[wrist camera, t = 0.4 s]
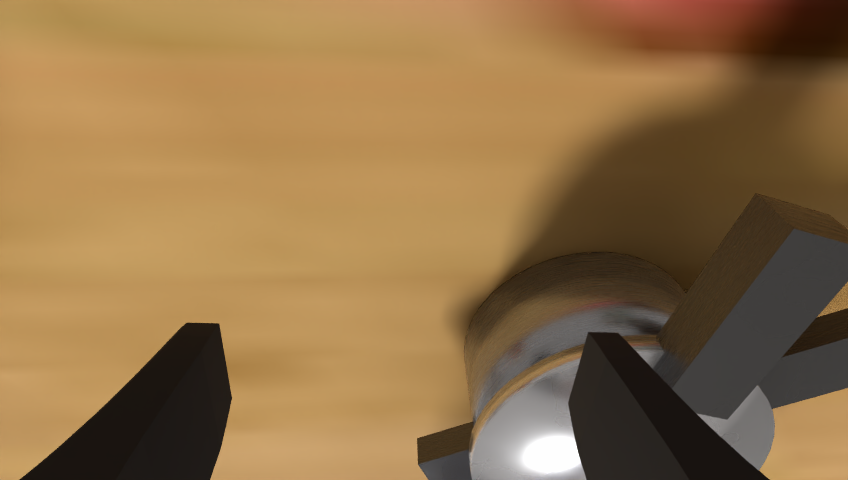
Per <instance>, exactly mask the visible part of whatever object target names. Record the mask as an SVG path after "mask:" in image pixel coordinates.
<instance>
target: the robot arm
mask: <svg viewBox="0 0 848 480" xmlns="http://www.w3.org/2000/svg"><path fill="white" fill-rule="evenodd" d="M231 400H232V396H231V390H230V384H229V378H228V373H227V367H226V361H225V355H224V349H223V343H222V338H221V332H220V326H219V324H218V323H186V324H185V325H184V326H182V327H181V328H180V329H179V330H178V331H177V332H176V333H175V334H174V336H173V337H172V338H171V339H170V340H169V341H168V342H167V343H166V344H165V345H164V346H163V347H162V348H161V349H160V350H159V351H158V352H157V353H156V354H155V355H154V356H153V357H152V359H151V360H150V361H149V362H148V363H147V364H146V365H145V366H144V367H143V368H142V369H141V370H140V371H139V372H138V373H137V374H136V375H135V376H134V377H133V378H132V379H131V380H130V381H129V382H128V383H127V384H126V385H125V386H124V387H123V388H122V389H121V390H120V391H119V392H118V393H117V394H116V395H115V396H114V397H113V398H112V399H111V400H110V401H109V402H108V403H106V404H105V405H104V406H103V407H102V408H101V409H100V410H99V411H98V412H97V413H96V414H95V415H94V416H93V417H92V418H91V419H89V420H88V421H87V422H86V423H85V424H84V425H83V426H82V427H81V428H79V429H78V430H77V431H76V432H75V433H74V434H73V435H72V436H71V437H69V438H68V439H67V440H66V441H65V442H64V443H63V444H62V445H61V446H59V447H58V448H57V449H56V450H55V451H54V452H53V453H51V454H50V455H49V456H48V457H47V458H45V459H44V460H43V461H42V462H41V463H39V464H38V465H37V466H36V467H35V468H33V469H32V470H31V471H30V472H28V473H27V474H26V475H25V476H24V477H22V478H21V479H20V480H210V478H211V475H212V472H213V469H214V466H215V464H216V461H217V458H218V455H219V452H220V449H221V445H222V441H223V436H224V432H225V428H226V423H227V419H228V414H229V409H230V404H231ZM568 406H569V411H570V417H571V422H572V427H573V432H574V437H575V442H576V447H577V451H578V455H579V458H580V461H581V464H582V467H583V470H584V473H585V476H586V479H587V480H769V479H768V478H767V477H766V476H764V475H763V474H762V473H761V472H760V471H759V470H757V469H756V468H755V467H754V466H753V465H752V464H750V463H749V462H748V461H747V460H746V459H745V458H744V457H742V456H741V455H740V454H739V453H738V452H737V451H736V450H735V449H734V448H733V447H731V446H730V445H729V444H728V443H727V442H726V441H725V440H724V439H723V438H722V437H720V436H719V435H718V434H717V433H716V432H715V431H714V430H713V429H712V428H711V427H710V426H709V425H708V424H707V423H706V422H705V421H704V420H702V419H701V418H700V417H699V416H698V415H697V414H696V413H695V412H694V411H693V410H692V409H691V408H690V407H689V406H688V405H687V404H686V403H685V402H684V401H683V400H682V399H681V398H680V397H679V396H678V395H677V394H676V393H675V392H674V391H673V390H672V388H671V387H670V386H669V385H668V384H667V383H666V382H665V381H664V380H663V379H662V378H661V377H660V376H659V375H658V374H657V373H656V372H655V371H654V370H653V369H652V368H651V367H650V365H649V364H648V363H647V362H646V361H645V360H644V359H643V358H642V357H641V356H640V355H639V354H638V353H637V352H636V351H635V350H634V348H633V347H632V346H631V345H630V344H629V343H628V342H627V341H626V340H625V339H624V338H623V337H622V336H621V335H620V334H619V333H611V332H588V334H587V338H586V341H585V345H584V348H583V352H582V355H581V359H580V362H579V366H578V370H577V373H576V377H575V380H574V384H573V387H572V391H571V394H570V398H569V401H568Z"/></svg>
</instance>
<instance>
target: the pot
mask: <svg viewBox="0 0 848 480" xmlns="http://www.w3.org/2000/svg"><path fill="white" fill-rule="evenodd" d="M685 295H686V293H685V292H684V290H683V289H682V288H681V286H680V285H679V284H678V283H677V281H676V280H675V279H674V278H673V277H671V276H670V275H669V274H668V273H667V272H666V271H664V270H662V269H661V268H659V267H657V266H656V265H654V264H652V263H649V262H647V261H645V260H642V259H639V258H636V257H632V256H629V255H623V254H617V253H604V252H591V253H578V254H573V255H568V256H562V257H559V258H555V259H552V260H548V261H545V262H543V263H540V264H538V265H535V266H533V267H530V268H529V269H527V270H525V271H523V272H521V273H519V274H517V275H516V276H514V277H513V278H511V279H510V280H508V281H507V282H505V283H504V284H503V285H501V286H500V287H499V288H498V289H497V290H496V291H495V292H493V293H492V294H491V295H490V296H489V298H488V299H487V300H486V301H485V302H484V303H483V304H482V306H481V307H480V308H479V310H478V311H477V313H476V314H475V316H474V318H473V320H472V322H471V324H470V326H469V329H468V332H467V335H466V339H465V346H464V359H465V367H466V375H467V383H468V391H469V398H470V406H471V414H472V421H473V422H470V423H467V424H463V425H460V426H457V427H453V428H450V429H447V430H443V431H440V432H437V433H434V434H430V435H427V436H424V437H420V438H417V447H418V465H419V466H420V468H421V469H422V471H423V472H424V474H425V475H426V477H427V478H428V480H472V477H471V470H470V461H469V442H470V438H471V434H472V430H473V428H474V425H475V423H476V421H477V418H478V417H479V415H480V414H481V412H482V410H483V409H484V407H485V406H486V404H487V403H488V402H489V401H490V400H491V399H492V397H493V396H494V395H495V394H496V393H497V392H498V391H499V390H500V389H501V388H502V387H503V386H504V385H506V384H507V383H508V382H509V381H510V380H511V379H513V378H514V377H516V376H517V375H518V374H520V373H521V372H523V371H524V370H525V369H527V368H529V367H531V366H532V365H534V364H536V363H538V362H540V361H541V360H543V359H545V358H547V357H550V356H552V355H554V354H557V353H559V352H561V351H563V350H566V349H569V348H572V347H575V346H578V345H581V344H585V341H586V338H587V334H588V332H611V333H619V334H620V335H621V336H628V335H658V333H659V332H660V330H661V329H662V328H663V326H664V325H665V323H666V322H667V320H668V319H669V318H670V316H671V315H672V313H673V312H674V310H675V309H676V307H677V306H678V305H679V303H680V302H681V300H682V299H683V297H684V296H685ZM758 386H759V388H760V389H761V390H762V392H763V393H764V395H765V396H766V398H767V399H768V401H769V404H770V406H771V409H773V408H777V407H781V406H784V405H788V404H791V403H795V402H799V401H802V400H806V399H809V398H813V397H817V396H820V395H824V394H827V393H831V392H834V391H838V390H842V389H845V388H848V308H847V309H844V310H840V311H837V312H834V313H830V314H827V315H824V316H820V317H817V318H815V320H814V321H813V322H812V323H811V324H810V325H809V326H808V328H807V329H806V330H805V331H804V332H803V333H802V335H801V336H800V337H799V338H798V339H797V340H796V341H795V343H794V344H793V345H792V346H791V347H790V348H789V349H788V351H787V352H786V353H785V354H784V355H783V356H782V357H781V359H780V360H779V361H778V362H777V363H776V364H775V366H774V367H773V368H772V369H771V370H770V371H769V372H768V374H767V375H766V376H765V377H764V378H763V379H762V380H761V382H760V383H759V384H758Z"/></svg>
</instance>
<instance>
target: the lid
mask: <svg viewBox="0 0 848 480" xmlns="http://www.w3.org/2000/svg"><path fill="white" fill-rule="evenodd" d="M847 282H848V230H847V229H846V228H845V227H844V226H842V225H841V224H840V223H839V222H837V221H836V220H835V219H834V218H833V217H831V216H830V215H828V214H825V213H821V212H818V211H814V210H811V209H808V208H804V207H801V206H797V205H794V204H790V203H787V202H784V201H780V200H777V199H773V198H770V197H767V196H763V195H760V194H755V195H754V197H753V198H752V200H751V201H750V202H749V204H748V205H747V207H746V208H745V210H744V211H743V213H742V214H741V215H740V217H739V218H738V220H737V221H736V223H735V224H734V225H733V227H732V228H731V230H730V231H729V233H728V234H727V236H726V237H725V238H724V240H723V241H722V243H721V244H720V246H719V247H718V248H717V250H716V251H715V253H714V254H713V256H712V257H711V259H710V260H709V261H708V263H707V264H706V266H705V267H704V269H703V270H702V272H701V273H700V274H699V276H698V277H697V279H696V280H695V282H694V283H693V284H692V286H691V287H690V289H689V290H688V292H687V293H686V295H685V296H684V297H683V299H682V300H681V302H680V303H679V305H678V306H677V307H676V309H675V310H674V312H673V313H672V315H671V316H670V318H669V319H668V320H667V322H666V323H665V325H664V326H663V328H662V329H661V330H660V332H659V333H658V335H628V336H622V337H623V338H624V339H625V340H626V341H627V342H628V343H629V344H630V345H631V346H632V347H633V348H634V350H635V351H636V352H637V353H638V354H639V355H640V356H641V357H642V358H643V359H644V360H645V361H646V362H647V363H648V364H649V365H650V367H651V368H652V369H653V370H654V371H655V372H656V373H657V374H658V375H659V376H660V377H661V378H662V379H663V380H664V381H665V382H666V383H667V384H668V385H669V386H670V387H671V388H672V390H673V391H674V392H675V393H676V394H677V395H678V396H679V397H680V398H681V399H682V400H683V401H684V402H685V403H686V404H687V405H688V406H689V407H690V408H691V409H692V410H693V411H694V412H695V413H696V414H697V415H698V416H699V417H700V418H701V419H702V420H704V421H705V422H706V423H707V424H708V425H709V426H710V427H711V428H712V429H713V430H714V431H715V432H716V433H717V434H718V435H719V436H720V437H722V438H723V439H724V440H725V441H726V442H727V443H728V444H729V445H730V446H731V447H733V448H734V449H735V450H736V451H737V452H738V453H739V454H740V455H741V456H742V457H744V458H745V459H746V460H747V461H748V462H749V463H750V464H752V465H753V466H754V467H755V468H756V469H757V470H759V469H760V468H761V466H762V465H763V463H764V462H765V460H766V458H767V456H768V454H769V451H770V449H771V446H772V442H773V438H774V427H775V423H774V416H773V411H772V409H771V406H770V404H769V401H768V399H767V398H766V396H765V395H764V393H763V392H762V390H761V389H760V388H759V386H758V384H759V383H760V382H761V380H762V379H763V378H764V377H765V376H766V375H767V374H768V372H769V371H770V370H771V369H772V368H773V367H774V366H775V364H776V363H777V362H778V361H779V360H780V359H781V357H782V356H783V355H784V354H785V353H786V352H787V351H788V349H789V348H790V347H791V346H792V345H793V344H794V343H795V341H796V340H797V339H798V338H799V337H800V336H801V335H802V333H803V332H804V331H805V330H806V329H807V328H808V326H809V325H810V324H811V323H812V322H813V321H814V320H815V318H816V317H817V316H818V315H819V314H820V313H821V312H822V310H823V309H824V308H825V307H826V306H827V305H828V303H829V302H830V301H831V300H832V299H833V298H834V297H835V295H836V294H837V293H838V292H839V291H840V290H841V289H842V287H843V286H844V285H845V284H846V283H847ZM584 345H585V344H581V345H578V346H575V347H572V348H569V349H566V350H563V351H561V352H559V353H557V354H554V355H552V356H550V357H547V358H545V359H543V360H541V361H540V362H538V363H536V364H534V365H532V366H531V367H529V368H527V369H525V370H524V371H523V372H521V373H520V374H518V375H517V376H516V377H514V378H513V379H511V380H510V381H509V382H508V383H507V384H506V385H504V386H503V387H502V388H501V389H500V390H499V391H498V392H497V393H496V394H495V395H494V396H493V397H492V399H491V400H490V401H489V402H488V403H487V404H486V406H485V407H484V409H483V410H482V412H481V414H480V415H479V417H478V418H477V421H476V423H475V425H474V428H473V430H472V434H471V438H470V442H469V461H470V470H471V477H472V480H587V479H586V476H585V473H584V470H583V467H582V464H581V461H580V458H579V455H578V451H577V447H576V442H575V437H574V432H573V427H572V422H571V417H570V411H569V406H568V401H569V398H570V394H571V391H572V387H573V384H574V380H575V377H576V373H577V370H578V366H579V362H580V359H581V355H582V352H583V348H584Z"/></svg>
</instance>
